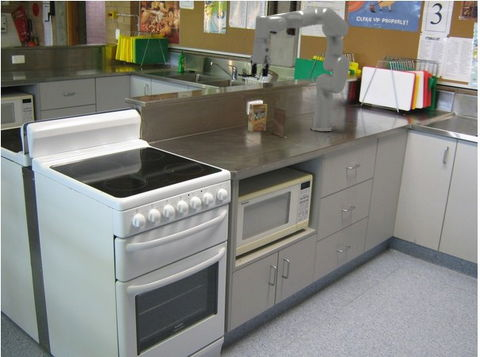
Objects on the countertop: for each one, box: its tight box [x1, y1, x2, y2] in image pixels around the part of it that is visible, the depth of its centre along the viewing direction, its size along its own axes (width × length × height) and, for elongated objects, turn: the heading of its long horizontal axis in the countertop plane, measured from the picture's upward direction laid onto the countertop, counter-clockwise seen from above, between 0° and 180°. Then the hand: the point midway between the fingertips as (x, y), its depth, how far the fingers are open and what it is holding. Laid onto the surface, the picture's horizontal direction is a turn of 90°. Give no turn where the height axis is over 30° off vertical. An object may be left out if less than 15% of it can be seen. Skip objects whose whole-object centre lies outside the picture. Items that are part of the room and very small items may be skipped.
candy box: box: [247, 103, 268, 133], centre depth 276 cm, size 9×4×15 cm, turn 118°
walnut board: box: [271, 106, 287, 138], centre depth 268 cm, size 1×10×14 cm, turn 26°
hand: (259, 75), depth 268 cm, fingers open, 9 cm apart
